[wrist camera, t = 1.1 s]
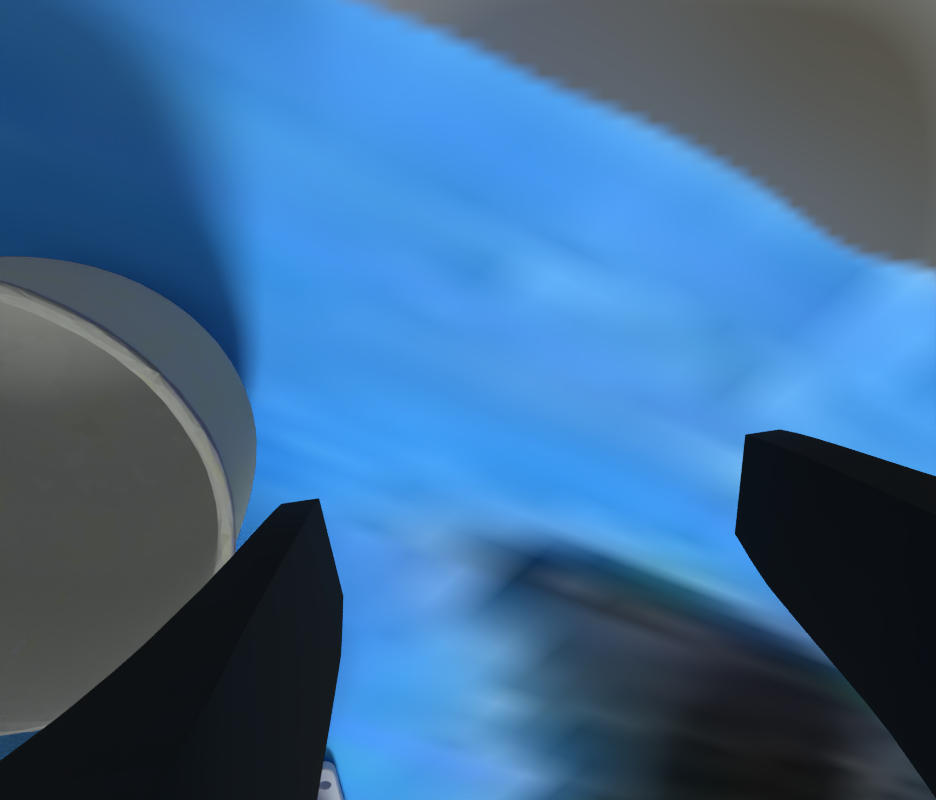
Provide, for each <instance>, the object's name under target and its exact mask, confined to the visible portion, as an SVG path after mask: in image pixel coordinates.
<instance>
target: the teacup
mask: <svg viewBox="0 0 936 800" xmlns="http://www.w3.org/2000/svg"><path fill="white" fill-rule="evenodd" d="M255 466H256V428H255V423H254V417H253V412H252V408H251V405H250V402H249V399H248V396H247V393H246V390H245V387H244V385H243V383H242V381H241V378H240V377H239V375H238V373H237V371H236V370H235V368H234V366H233V364H232V362H231V361H230V359H229V358H228V357H227V355H226V354H225V352H224V351H223V350H222V348H221V347H220V345H219V344H218V343H217V342H216V341H215V340H214V338H213V337H212V336H211V335H210V334H209V333H208V332H207V331H206V330H205V329H204V328H203V327H202V326H201V325H200V324H199V323H198V322H197V321H196V320H195V319H193V318H192V317H191V316H190V315H189V314H188V313H186V312H185V311H184V310H182V309H181V308H180V307H178V306H177V305H176V304H174V303H173V302H171V301H170V300H168V299H166V298H165V297H163V296H162V295H160V294H159V293H157V292H155V291H153V290H151V289H149V288H148V287H146V286H144V285H142V284H140V283H138V282H135V281H133V280H131V279H128V278H126V277H124V276H121V275H118V274H115V273H112V272H109V271H106V270H103V269H100V268H97V267H93V266H89V265H84V264H80V263H75V262H70V261H63V260H56V259H49V258H37V257H25V256H0V736H2V735H10V734H16V733H22V732H33V731H37V730H41V729H43V728H44V727H46V726H47V725H48V724H50V723H51V722H52V721H54V720H55V719H56V718H57V717H59V716H60V715H61V714H62V713H64V712H65V711H66V710H67V709H69V708H70V707H71V706H72V705H74V704H75V703H76V702H77V701H78V700H80V699H81V698H82V697H83V696H84V695H86V694H87V693H88V692H89V691H90V690H92V689H93V688H94V687H95V686H96V685H98V684H99V683H100V682H101V681H103V680H104V679H105V678H106V677H107V676H109V675H110V674H111V673H112V672H113V671H114V670H116V669H117V668H118V667H119V666H120V665H121V664H122V663H124V662H125V661H126V660H127V659H128V658H129V657H130V656H132V655H133V654H134V653H135V652H136V651H137V650H138V649H139V648H140V647H141V646H143V645H144V644H145V643H146V642H147V641H148V640H149V639H150V638H151V637H152V636H153V635H154V634H155V633H156V632H157V631H158V630H159V629H160V628H161V627H162V626H164V625H165V624H166V623H167V622H168V621H169V620H170V619H171V618H172V617H173V616H174V615H175V614H176V613H177V612H178V611H179V610H180V609H181V608H182V607H183V606H184V605H185V604H186V603H187V602H188V601H189V600H190V599H191V598H192V597H193V596H194V595H195V594H196V593H197V592H199V591H200V590H201V589H202V588H203V587H204V586H205V584H206V583H207V582H208V581H209V580H210V579H211V578H212V577H213V576H214V575H215V574H216V573H217V572H218V571H219V570H220V569H221V568H222V566H223V565H224V564H225V563H226V562H227V561H228V560H229V559H230V558H231V557H232V556H233V555H234V554H235V551H236V540H237V537H238V535H239V532H240V529H241V526H242V523H243V519H244V516H245V512H246V509H247V506H248V502H249V499H250V494H251V490H252V485H253V479H254V474H255Z"/></svg>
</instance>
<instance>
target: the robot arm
mask: <svg viewBox="0 0 936 800" xmlns="http://www.w3.org/2000/svg"><path fill="white" fill-rule="evenodd" d="M735 535H736V536H737V538H738V539H739V541H740V543H741V544H742V546H743V548H744V549H745V551H746V553H747V554H748V556H749V558H750V559H751V561H752V562H753V564H754V566H755V567H756V569H757V570H758V572H759V573H760V575H761V576H762V578H763V579H764V581H765V582H766V584H767V585H768V586H769V587H770V589H771V590H772V591H773V592H774V594H775V595H776V596H777V597H778V599H779V600H780V601H781V602H782V603H783V605H784V606H785V607H786V608H787V609H788V611H789V612H790V613H791V614H792V615H793V617H794V618H795V619H796V620H797V621H798V623H799V624H800V625H801V626H802V627H803V629H804V630H805V631H806V632H807V633H808V635H809V636H810V637H811V638H812V639H813V640H814V642H815V643H816V644H817V645H818V646H819V648H820V649H821V650H822V651H823V652H824V653H825V655H826V656H827V657H828V658H829V659H830V661H831V662H832V663H833V664H834V665H835V666H836V668H837V669H838V670H839V671H840V672H841V674H842V675H843V676H844V677H845V678H846V679H847V681H848V682H849V683H850V684H851V685H852V687H853V688H854V689H855V690H856V691H857V692H858V694H859V695H860V696H861V697H862V698H863V700H864V701H865V702H866V703H867V704H868V706H869V707H870V708H871V709H872V711H873V712H874V713H875V714H876V716H877V717H878V718H879V720H880V721H881V722H882V723H883V725H884V726H885V727H886V728H887V730H888V731H889V732H890V734H891V735H892V736H893V738H894V739H895V741H896V742H897V743H898V745H899V746H900V748H901V749H902V751H903V752H904V753H905V755H906V756H907V758H908V759H909V760H910V762H911V763H912V765H913V766H914V768H915V769H916V770H917V772H918V773H919V775H920V776H921V778H922V779H923V780H924V782H925V783H926V785H927V786H928V787H929V789H930V790H931V792H932V793H933V795H934V796H935V797H936V476H933V475H930V474H927V473H923V472H920V471H917V470H914V469H911V468H908V467H905V466H902V465H898V464H895V463H892V462H889V461H886V460H883V459H880V458H877V457H874V456H871V455H868V454H864V453H861V452H858V451H855V450H852V449H849V448H846V447H843V446H839V445H836V444H833V443H830V442H826V441H823V440H820V439H816V438H813V437H809V436H806V435H802V434H798V433H794V432H789V431H785V430H773V431H767V432H760V433H753V434H747V435H745V443H744V453H743V462H742V472H741V481H740V491H739V500H738V510H737V519H736V528H735ZM342 621H343V593H342V589H341V585H340V581H339V577H338V573H337V569H336V565H335V561H334V557H333V553H332V549H331V545H330V541H329V537H328V533H327V529H326V525H325V521H324V517H323V513H322V509H321V504H320V500H319V498H318V499H311V500H305V501H298V502H291V503H285V504H281V505H280V506H279V507H278V508H277V509H276V510H274V512H273V513H272V514H271V515H270V516H269V517H268V518H267V519H266V520H265V521H264V522H263V523H262V524H261V525H260V527H259V528H258V529H257V530H256V531H255V532H254V533H253V534H252V535H251V536H250V537H249V539H248V540H247V541H246V542H245V543H244V544H243V545H242V546H241V547H240V548H239V549H238V551H237V552H236V553H235V554H234V555H233V556H232V557H231V558H230V559H229V560H228V561H227V562H226V563H225V564H224V565H223V566H222V568H221V569H220V570H219V571H218V572H217V573H216V574H215V575H214V576H213V577H212V578H211V579H210V580H209V581H208V582H207V583H206V584H205V586H204V587H203V588H202V589H201V590H200V591H199V592H197V593H196V594H195V595H194V596H193V597H192V598H191V599H190V600H189V601H188V602H187V603H186V604H185V605H184V606H183V607H182V608H181V609H180V610H179V611H178V612H177V613H176V614H175V615H174V616H173V617H172V618H171V619H170V620H169V621H168V622H167V623H166V624H165V625H164V626H162V627H161V628H160V629H159V630H158V631H157V632H156V633H155V634H154V635H153V636H152V637H151V638H150V639H149V640H148V641H147V642H146V643H145V644H144V645H143V646H141V647H140V648H139V649H138V650H137V651H136V652H135V653H134V654H133V655H132V656H130V657H129V658H128V659H127V660H126V661H125V662H124V663H122V664H121V665H120V666H119V667H118V668H117V669H116V670H114V671H113V672H112V673H111V674H110V675H109V676H107V677H106V678H105V679H104V680H103V681H101V682H100V683H99V684H98V685H96V686H95V687H94V688H93V689H92V690H90V691H89V692H88V693H87V694H86V695H84V696H83V697H82V698H81V699H80V700H78V701H77V702H76V703H75V704H74V705H72V706H71V707H70V708H69V709H67V710H66V711H65V712H64V713H62V714H61V715H60V716H59V717H57V718H56V719H55V720H54V721H52V722H51V723H50V724H48V725H47V726H46V727H44V728H43V729H42V730H40V731H39V732H38V733H36V734H35V735H34V736H32V737H31V738H30V739H28V740H27V741H26V742H24V743H23V744H22V745H20V746H19V747H18V748H16V749H15V750H14V751H12V752H11V753H10V754H8V755H7V756H6V757H4V758H3V759H2V760H0V800H344V799H343V795H342V791H341V788H340V784H339V780H338V776H337V772H336V769H335V766H334V765H333V764H332V763H330V762H327V761H324V756H325V750H326V744H327V738H328V732H329V726H330V720H331V714H332V708H333V702H334V696H335V690H336V683H337V677H338V671H339V664H340V658H341V644H342Z"/></svg>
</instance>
